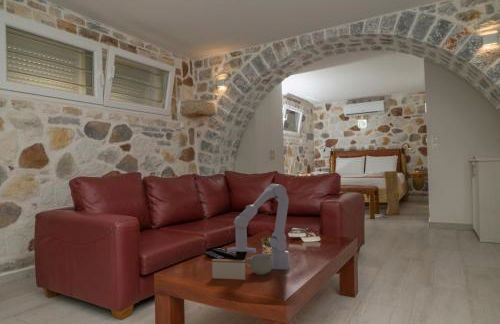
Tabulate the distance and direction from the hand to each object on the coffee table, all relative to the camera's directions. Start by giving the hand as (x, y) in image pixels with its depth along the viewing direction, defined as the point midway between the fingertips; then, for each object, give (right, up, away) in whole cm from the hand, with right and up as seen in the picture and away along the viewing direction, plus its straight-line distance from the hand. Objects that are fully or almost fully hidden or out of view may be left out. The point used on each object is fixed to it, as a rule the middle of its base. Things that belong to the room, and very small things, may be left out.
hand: (241, 266), depth 169 cm
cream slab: (-6, -3, -9) cm, 11 cm away
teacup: (+8, -3, -2) cm, 9 cm away
